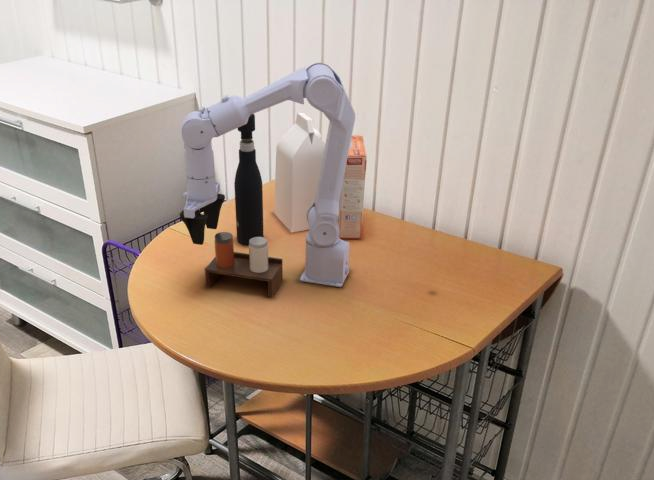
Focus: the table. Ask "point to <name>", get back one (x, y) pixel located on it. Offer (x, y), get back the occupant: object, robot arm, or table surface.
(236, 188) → the black water bottle
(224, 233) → the pepper shaker
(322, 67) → the robot arm
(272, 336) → the table surface
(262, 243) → the salt shaker
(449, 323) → the table surface
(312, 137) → the milk
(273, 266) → the shelf
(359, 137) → the cracker box
